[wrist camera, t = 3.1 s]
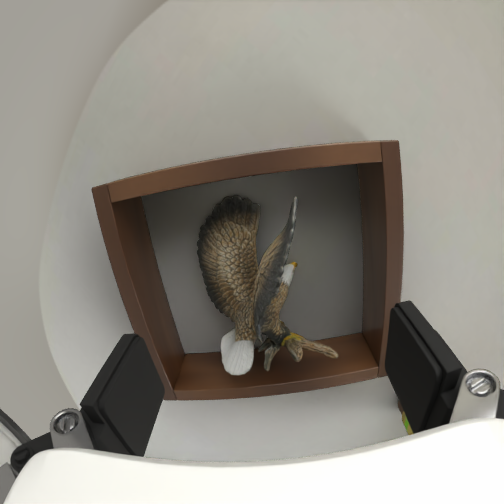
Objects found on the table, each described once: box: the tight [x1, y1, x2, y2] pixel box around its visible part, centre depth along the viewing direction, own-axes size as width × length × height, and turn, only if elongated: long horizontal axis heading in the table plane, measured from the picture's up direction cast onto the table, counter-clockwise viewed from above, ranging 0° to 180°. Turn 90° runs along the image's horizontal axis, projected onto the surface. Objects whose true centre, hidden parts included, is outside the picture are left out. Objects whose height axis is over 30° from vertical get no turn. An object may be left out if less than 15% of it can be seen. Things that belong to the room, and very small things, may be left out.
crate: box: [92, 140, 404, 400], centre depth 17 cm, size 15×14×4 cm
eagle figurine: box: [197, 195, 339, 375], centre depth 16 cm, size 8×7×9 cm
